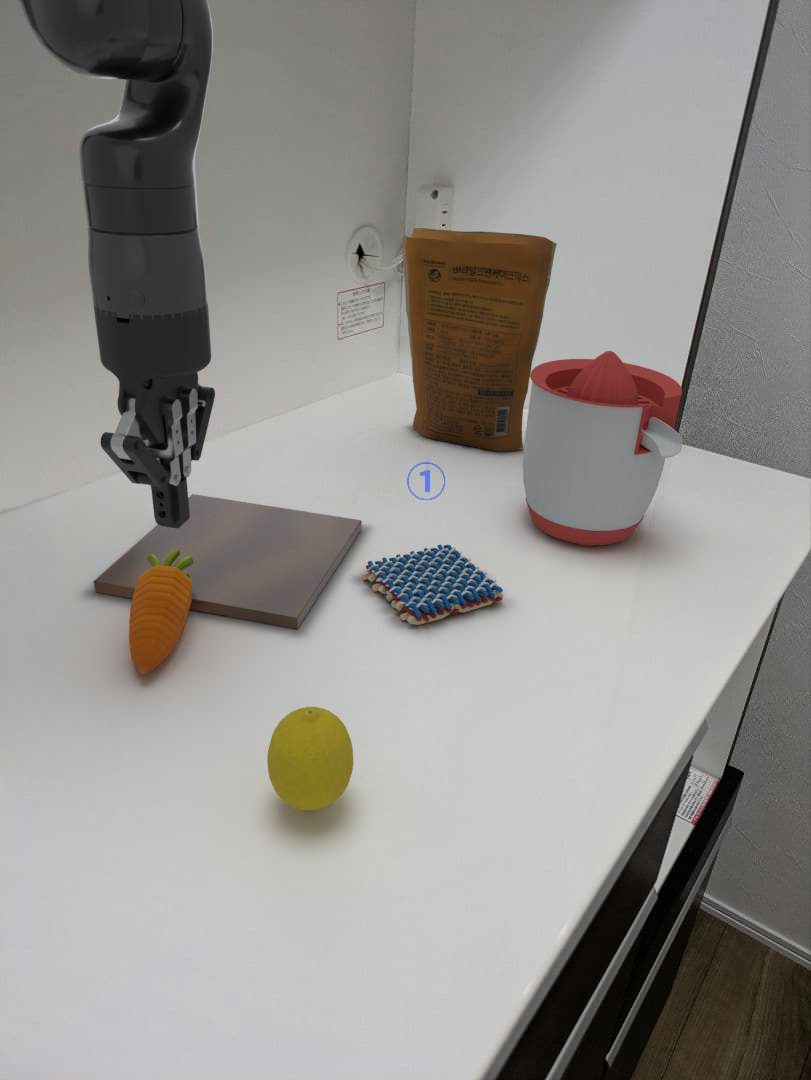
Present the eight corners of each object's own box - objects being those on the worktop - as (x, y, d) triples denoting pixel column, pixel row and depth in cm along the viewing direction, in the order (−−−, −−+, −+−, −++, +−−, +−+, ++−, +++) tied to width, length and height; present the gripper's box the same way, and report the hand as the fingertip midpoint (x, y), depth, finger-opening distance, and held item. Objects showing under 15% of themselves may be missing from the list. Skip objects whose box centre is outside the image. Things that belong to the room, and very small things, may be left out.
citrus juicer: (604, 580, 83) (640, 388, 74) (484, 515, 95) (502, 342, 86) (692, 538, 92) (735, 363, 83) (573, 483, 104) (598, 324, 95)
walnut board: (94, 592, 77) (93, 581, 77) (193, 503, 94) (192, 493, 94) (297, 629, 73) (297, 618, 73) (361, 529, 91) (361, 520, 90)
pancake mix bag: (523, 462, 109) (550, 240, 96) (391, 436, 116) (400, 223, 102) (536, 446, 115) (564, 233, 101) (410, 421, 121) (421, 218, 108)
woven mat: (448, 555, 86) (449, 538, 85) (507, 605, 78) (509, 587, 77) (358, 576, 82) (359, 559, 81) (411, 632, 74) (412, 613, 73)
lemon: (252, 802, 55) (247, 709, 52) (317, 762, 59) (316, 672, 55) (304, 851, 52) (302, 755, 48) (369, 806, 56) (372, 714, 52)
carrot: (98, 657, 63) (137, 540, 75) (126, 699, 66) (160, 580, 78) (159, 644, 63) (189, 528, 75) (184, 687, 66) (209, 569, 78)
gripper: (150, 274, 63) (170, 482, 71) (41, 312, 51) (80, 555, 60) (242, 284, 61) (251, 495, 69) (151, 325, 50) (176, 572, 58)
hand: (172, 522), depth 65 cm, fingers closed
